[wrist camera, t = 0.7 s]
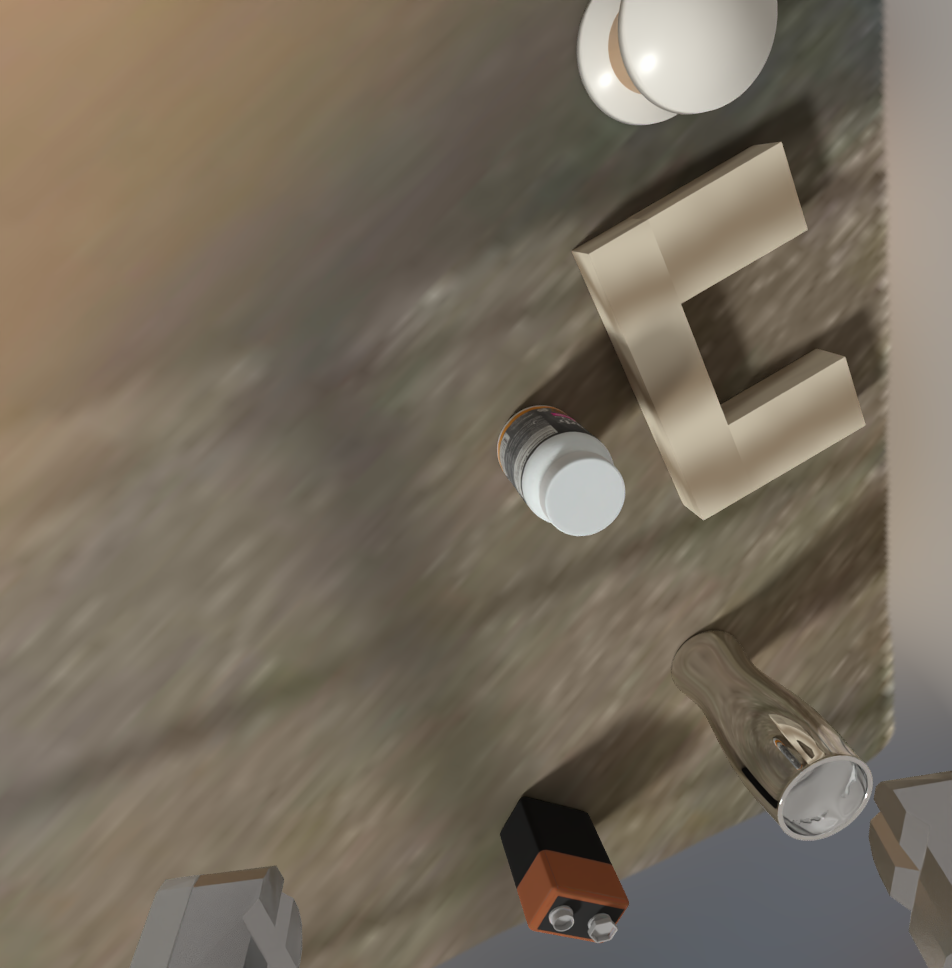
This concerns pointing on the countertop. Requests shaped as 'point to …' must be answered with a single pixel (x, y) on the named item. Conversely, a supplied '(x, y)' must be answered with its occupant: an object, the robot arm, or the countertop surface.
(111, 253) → the countertop surface
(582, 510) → the pill bottle
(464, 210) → the countertop surface
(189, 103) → the countertop surface
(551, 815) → the battery
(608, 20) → the spool
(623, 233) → the notched board
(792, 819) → the beer glass
